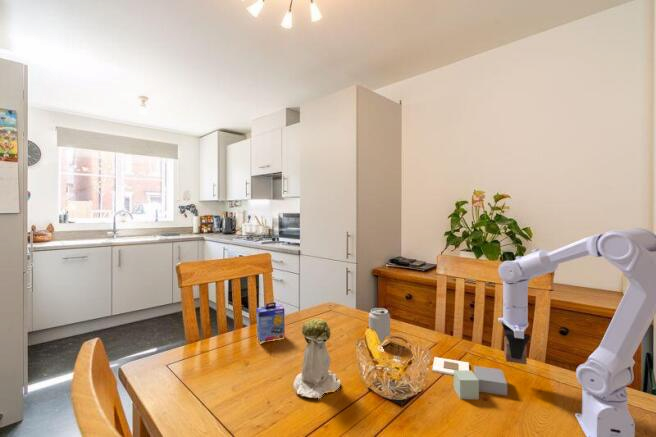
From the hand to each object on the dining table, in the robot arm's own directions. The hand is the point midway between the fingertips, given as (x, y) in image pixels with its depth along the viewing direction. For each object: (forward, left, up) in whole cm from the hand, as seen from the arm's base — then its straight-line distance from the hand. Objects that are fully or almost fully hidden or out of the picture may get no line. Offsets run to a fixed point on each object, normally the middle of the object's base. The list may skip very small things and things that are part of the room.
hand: (514, 353), depth 84 cm
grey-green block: (-9, +12, -9) cm, 18 cm away
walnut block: (0, 0, -2) cm, 2 cm away
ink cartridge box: (+1, +79, -9) cm, 80 cm away
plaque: (+3, +16, -8) cm, 19 cm away
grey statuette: (-20, +50, -9) cm, 55 cm away
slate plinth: (-3, +6, -9) cm, 11 cm away
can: (+12, +40, -9) cm, 43 cm away
